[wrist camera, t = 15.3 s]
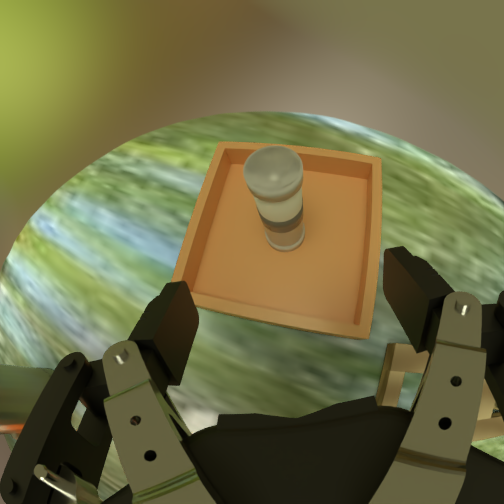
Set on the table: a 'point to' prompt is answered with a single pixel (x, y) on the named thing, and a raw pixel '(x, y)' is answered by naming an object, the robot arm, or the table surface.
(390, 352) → the fuse block
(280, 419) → the robot arm
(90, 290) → the table surface
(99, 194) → the table surface
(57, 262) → the table surface
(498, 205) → the table surface
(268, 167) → the white domed cylinder
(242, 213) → the parts tray
